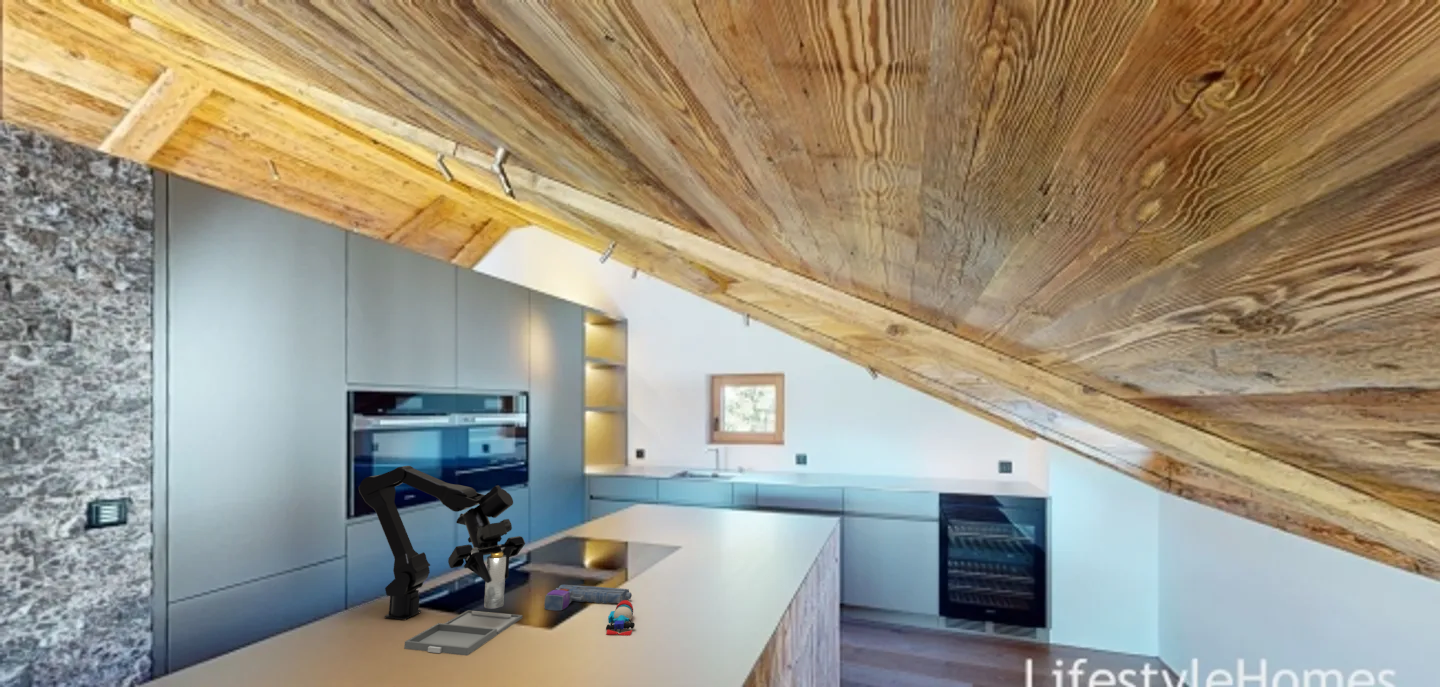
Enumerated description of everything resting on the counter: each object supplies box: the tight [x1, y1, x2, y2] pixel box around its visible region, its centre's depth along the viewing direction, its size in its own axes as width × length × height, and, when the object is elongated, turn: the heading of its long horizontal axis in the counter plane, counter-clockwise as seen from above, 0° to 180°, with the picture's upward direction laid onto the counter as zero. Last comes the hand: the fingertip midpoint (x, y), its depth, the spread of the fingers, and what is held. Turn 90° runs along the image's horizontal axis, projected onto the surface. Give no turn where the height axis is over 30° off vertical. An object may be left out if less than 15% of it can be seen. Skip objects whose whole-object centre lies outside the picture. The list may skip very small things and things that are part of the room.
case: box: [403, 622, 498, 656], centre depth 141 cm, size 16×13×2 cm
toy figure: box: [605, 600, 635, 637], centre depth 157 cm, size 8×5×15 cm
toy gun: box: [544, 584, 633, 611], centre depth 173 cm, size 4×23×15 cm
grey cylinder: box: [483, 551, 506, 609], centre depth 152 cm, size 5×5×13 cm
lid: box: [443, 609, 523, 636], centre depth 153 cm, size 16×13×2 cm
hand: (498, 579), depth 151 cm, fingers closed on grey cylinder, 5 cm apart
